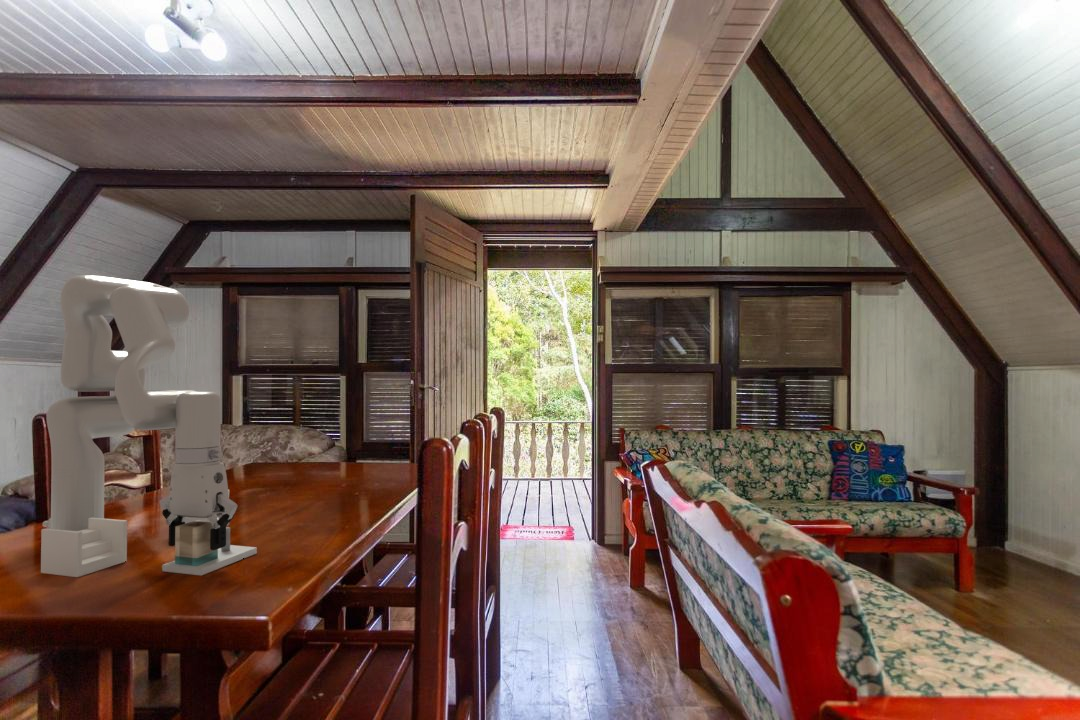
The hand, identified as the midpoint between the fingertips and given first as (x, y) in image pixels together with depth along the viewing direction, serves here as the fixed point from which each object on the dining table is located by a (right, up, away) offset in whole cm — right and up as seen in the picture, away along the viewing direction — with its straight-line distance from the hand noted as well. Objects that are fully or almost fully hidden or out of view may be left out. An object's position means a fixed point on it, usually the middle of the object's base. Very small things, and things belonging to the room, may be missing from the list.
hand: (197, 546), depth 115 cm
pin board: (+1, -4, +3) cm, 5 cm away
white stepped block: (-22, -4, 0) cm, 22 cm away
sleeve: (0, -3, 0) cm, 3 cm away
